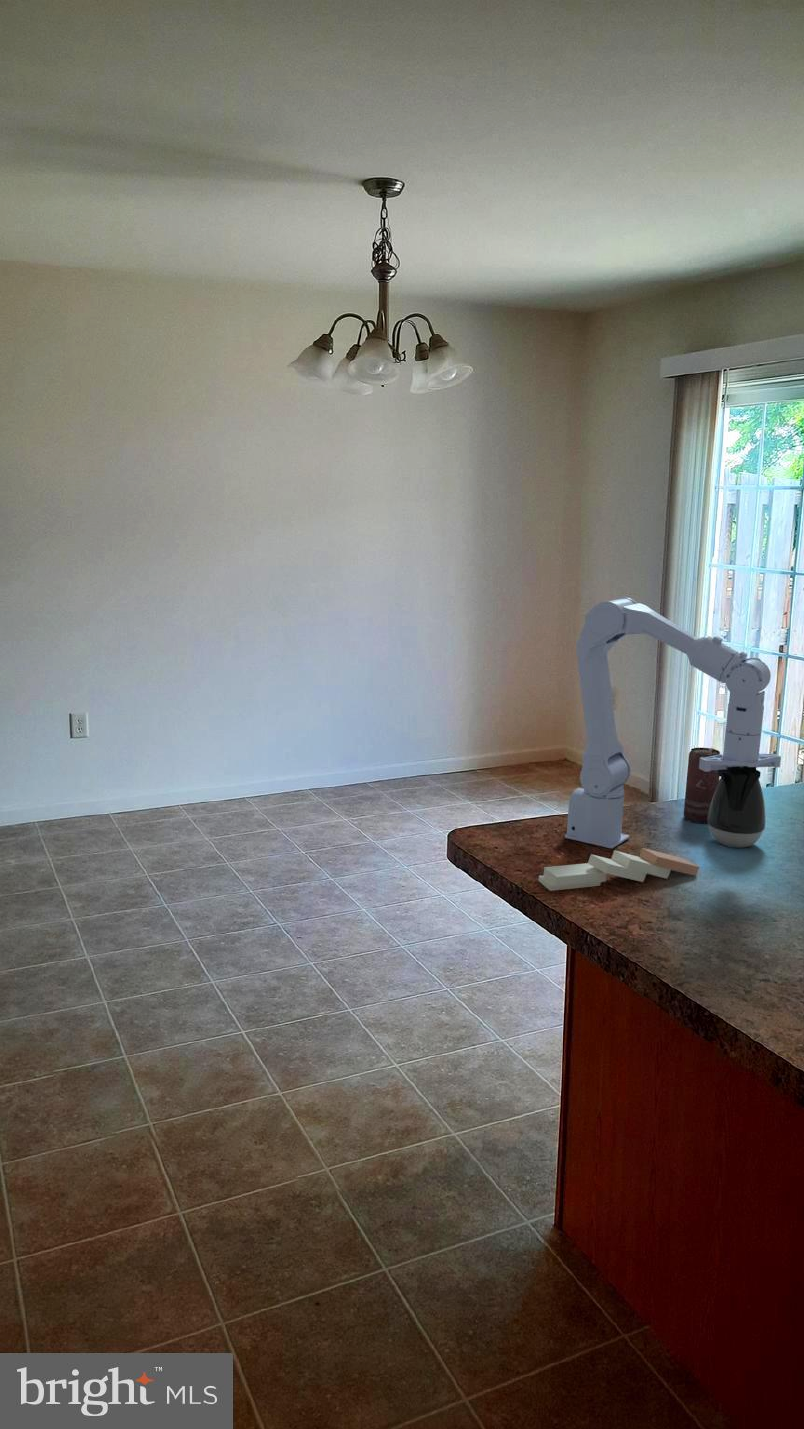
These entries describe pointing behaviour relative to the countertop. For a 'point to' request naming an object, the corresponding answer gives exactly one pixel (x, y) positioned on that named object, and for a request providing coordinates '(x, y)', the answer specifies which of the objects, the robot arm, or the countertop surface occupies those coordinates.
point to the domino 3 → (615, 868)
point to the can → (699, 786)
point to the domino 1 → (573, 874)
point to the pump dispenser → (736, 817)
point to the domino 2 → (553, 887)
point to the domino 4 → (639, 864)
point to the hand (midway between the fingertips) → (735, 809)
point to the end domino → (669, 861)
